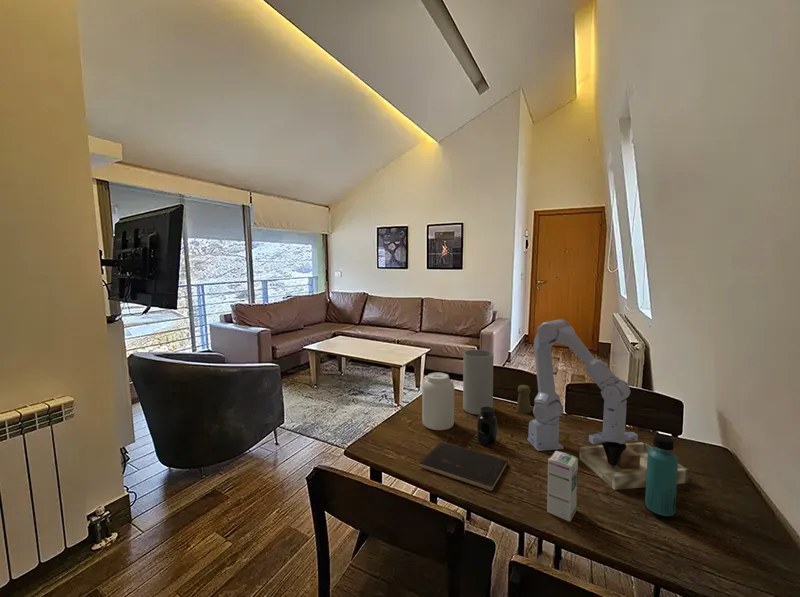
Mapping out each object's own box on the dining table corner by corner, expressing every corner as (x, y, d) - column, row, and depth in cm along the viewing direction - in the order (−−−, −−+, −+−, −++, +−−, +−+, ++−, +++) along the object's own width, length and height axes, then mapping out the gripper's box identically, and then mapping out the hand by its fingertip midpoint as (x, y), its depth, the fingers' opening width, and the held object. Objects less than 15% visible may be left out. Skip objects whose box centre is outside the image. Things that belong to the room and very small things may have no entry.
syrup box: (570, 522, 88) (572, 467, 86) (545, 512, 92) (547, 458, 90) (576, 510, 92) (579, 457, 91) (553, 500, 96) (555, 449, 94)
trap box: (614, 489, 100) (615, 476, 100) (579, 458, 116) (579, 447, 116) (687, 482, 103) (689, 469, 102) (643, 453, 119) (644, 442, 118)
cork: (528, 408, 156) (529, 383, 155) (532, 413, 150) (533, 388, 149) (514, 407, 157) (515, 383, 156) (517, 413, 151) (518, 388, 150)
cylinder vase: (486, 418, 146) (487, 358, 144) (458, 411, 153) (458, 354, 151) (496, 407, 157) (497, 351, 154) (469, 401, 164) (470, 348, 161)
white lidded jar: (416, 424, 141) (415, 375, 139) (434, 414, 151) (434, 368, 148) (442, 434, 133) (442, 382, 131) (460, 422, 142) (460, 374, 140)
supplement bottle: (475, 444, 126) (475, 411, 125) (478, 435, 132) (479, 404, 131) (495, 447, 123) (496, 414, 122) (497, 438, 130) (498, 406, 128)
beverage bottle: (677, 526, 86) (683, 447, 84) (643, 516, 90) (648, 440, 88) (673, 510, 92) (679, 436, 90) (642, 501, 95) (647, 429, 93)
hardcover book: (492, 493, 100) (492, 486, 100) (419, 469, 112) (419, 462, 112) (507, 465, 113) (507, 459, 113) (441, 446, 125) (441, 440, 125)
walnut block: (621, 469, 107) (622, 456, 106) (611, 462, 111) (612, 449, 110) (639, 467, 107) (640, 455, 107) (629, 460, 111) (630, 448, 111)
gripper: (600, 428, 102) (598, 473, 104) (647, 425, 104) (644, 469, 105) (585, 418, 109) (583, 460, 111) (628, 415, 111) (626, 456, 112)
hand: (611, 464), depth 108 cm, fingers closed
